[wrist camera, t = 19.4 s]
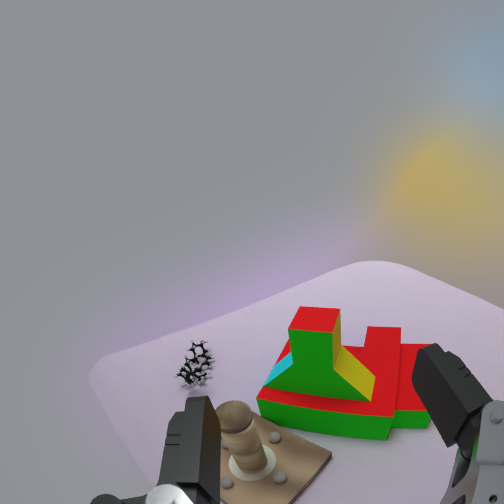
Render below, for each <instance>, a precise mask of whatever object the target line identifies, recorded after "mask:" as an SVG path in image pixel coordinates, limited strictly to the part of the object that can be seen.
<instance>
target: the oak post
mask: <svg viewBox="0 0 504 504" xmlns="http://www.w3.org/2000/svg"><path fill="white" fill-rule="evenodd" d="M215 412H216V414H217V416H218V418H219V421H220V425H221V436H222V438H223V440H224V441H225V443H226V445H227V447H228V449H229V451H230V453H231V454H232V456H233V458H234V460H235V462H236V463H237V465H238V467H239V469H240V470H241V471H242V472H244V473H247V474H256V473H259V472H261V471H262V470H263V469H264V468H265V467H266V465H267V457H266V454H265V451H264V449H263V446H262V443H261V440H260V437H259V434H258V431H257V428H256V425H255V422H254V419H253V415H252V412H251V409H250V407H249V406H248V405H247V404H246V403H244V402H241V401H228V402H225V403H223V404H221V405H220V406H219V407H218V408H217V409H216V410H215Z"/></svg>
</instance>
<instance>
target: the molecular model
mask: <svg viewBox="0 0 504 504" xmlns="http://www.w3.org/2000/svg"><path fill="white" fill-rule="evenodd" d="M191 342H192V344H193V345H192V347H191V349H186V350H187V351H193V353H194V358H193V359H187V357H186V355H184V357H185V359H186V363H185V364H181V367H182V368H179V371H177V373H176V374H177V375H176V376H174V377H175V378H177V377H178V376H182V377H183V378H185V383H183V384H182V386H184V385H187V384H190V385H191V386H194V385H193V384H195V385H197V383H196V382H194V379H193V377H192V376H195V377H197V378H198V379H199V380H198V384H200V382H201V379H205V378H206V377H205V375H207V374H210V372H206V373H205V372H203V371H202V370H201V367H202V366H203V365H208V366H209V367H210V368H212V366H210V364H209V362H210V359H214V357H207V356H205V353H206V352H211V350H205V349H204V347H203V344H204V343H208V341H203V340H202V341H201V344H199V345H196V344H194V342H193V340H191ZM198 346H200V347H201V348H202V349H203V353H202V355H197V354H196V353H195V347H198ZM198 357H203V358H204V357H205V358H206V360H207V361H206V362H205V363H202V364H201V363H199V361H198V360H197V358H198ZM190 361H192V362H193V363H194V366H196V368H195V369H192V368H191V367H190V366H189V362H190ZM195 361H196V362H197V363H198V365H196V364H195ZM185 366H187V367H188V368H189V369H190V372H188V371H187V370H186V369H185ZM181 372H182V373H181ZM185 372H186V373H187V374H186V373H185ZM196 372H200V373H201V374H202V375H201V376H198V375H196V374H195V373H196ZM182 374H184V375H185V376H184V375H182ZM191 382H192V383H193V384H192V383H191Z"/></svg>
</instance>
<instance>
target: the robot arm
mask: <svg viewBox="0 0 504 504" xmlns="http://www.w3.org/2000/svg"><path fill="white" fill-rule="evenodd" d="M412 384H413V387H414V390H415V391H416V393H417V395H418V396H419V398H420V400H421V401H422V403H423V405H424V407H425V408H426V410H427V412H428V413H429V415H430V417H431V419H432V421H433V422H434V424H435V426H436V428H437V429H438V431H439V433H440V435H441V437H442V439H443V440H444V442H445V444H446V446H447V448H448V447H450V446H452V445H454V444H456V443H457V445H458V446H459V448H458V450H457V454H456V458H455V463H454V467H453V471H452V474H451V478H450V482H449V485H448V488H447V491H446V493H445V495H444V497H443V498H442V500H441V502H440V504H504V402H503V401H499V400H495V401H494V400H492V398H491V397H490V396H489V395H488V393H487V392H486V391H485V389H484V388H483V387H482V385H481V384H480V383H479V382H478V380H477V379H476V378H475V376H474V375H473V374H471V371H470V370H469V369H468V368H466V365H465V364H464V363H463V362H462V360H461V359H460V358H459V357H458V356H456V355H454V354H453V353H451V352H449V351H448V352H444V351H443V350H442V348H441V347H440V346H439V345H438V344H437V343H434V344H431V345H428V346H426V347H423V348H420V349H419V350H418V351H417V355H416V359H415V364H414V368H413V372H412ZM220 465H221V425H220V421H219V418H218V416H217V414H216V412H215V410H214V407H213V405H212V403H211V401H210V399H209V397H208V396H200V397H188V398H187V400H186V404H185V411H183V412H175V414H174V415H173V417H172V418H171V420H170V421H169V424H168V429H167V437H166V440H165V446H164V452H163V458H162V464H161V470H160V476H159V481H158V483H157V485H156V487H155V488H153V489H152V490H151V491H150V492H149V493H148V494H146V495H144V496H140V497H135V498H129V499H122V500H119V499H118V498H116V497H115V496H113V495H109V494H102V495H99V496H97V497H96V498H94V499H93V500H92V502H91V503H90V504H220Z"/></svg>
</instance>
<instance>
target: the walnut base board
mask: <svg viewBox="0 0 504 504" xmlns="http://www.w3.org/2000/svg"><path fill="white" fill-rule="evenodd" d="M251 412H252V411H251ZM252 415H253V419H254V422H255V425H256V428H257V431H258V434H259V437H260V440H261V443H262V446H263V449H264V451H265V454H266V457H267V465H266V467H265V468H264V469H263V470H262V471H261V472H259V473H256V474H247V473H244V472H242V471H241V470H240V469H239V467H238V465H237V463H236V462H235V460H234V458H233V456H232V454H231V453H230V451H229V449H228V447H227V445H226V443H225V441H224V440H223V438H222V436H221V465H220V499H221V500H222V501H224V502H225V503H226V504H292V503H293V502H294V501H295V500H296V498H297V497H298V496H299V495H300V494H301V493H302V492H303V491H304V490H305V488H306V487H307V486H308V485H309V484H310V483H311V482H312V480H313V479H314V478H315V477H316V476H317V474H318V473H319V472H320V471H321V470H322V468H323V467H324V466H325V465H326V463H327V462H328V461H329V460H330V458H331V457H332V452H331V451H328V450H326V449H324V448H322V447H320V446H317V445H315V444H313V443H311V442H309V441H307V440H305V439H303V438H301V437H299V436H297V435H295V434H293V433H291V432H289V431H287V430H285V429H283V428H281V427H279V426H277V425H276V424H274V423H272V422H270V421H268V420H266V419H265V418H263V417H261V416H259V415H258V414H256V413H254V412H252Z"/></svg>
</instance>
